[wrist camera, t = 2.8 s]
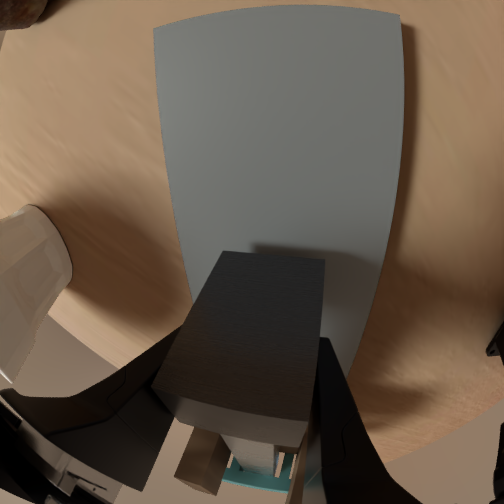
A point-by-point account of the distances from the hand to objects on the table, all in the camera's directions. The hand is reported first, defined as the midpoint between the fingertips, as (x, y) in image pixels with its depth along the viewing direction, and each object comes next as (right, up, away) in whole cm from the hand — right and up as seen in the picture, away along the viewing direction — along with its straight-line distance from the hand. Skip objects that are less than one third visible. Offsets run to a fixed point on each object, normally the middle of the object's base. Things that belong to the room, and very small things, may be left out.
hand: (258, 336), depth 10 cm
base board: (+1, -1, +7) cm, 7 cm away
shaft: (+1, -6, +8) cm, 10 cm away
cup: (-19, +4, +10) cm, 22 cm away
